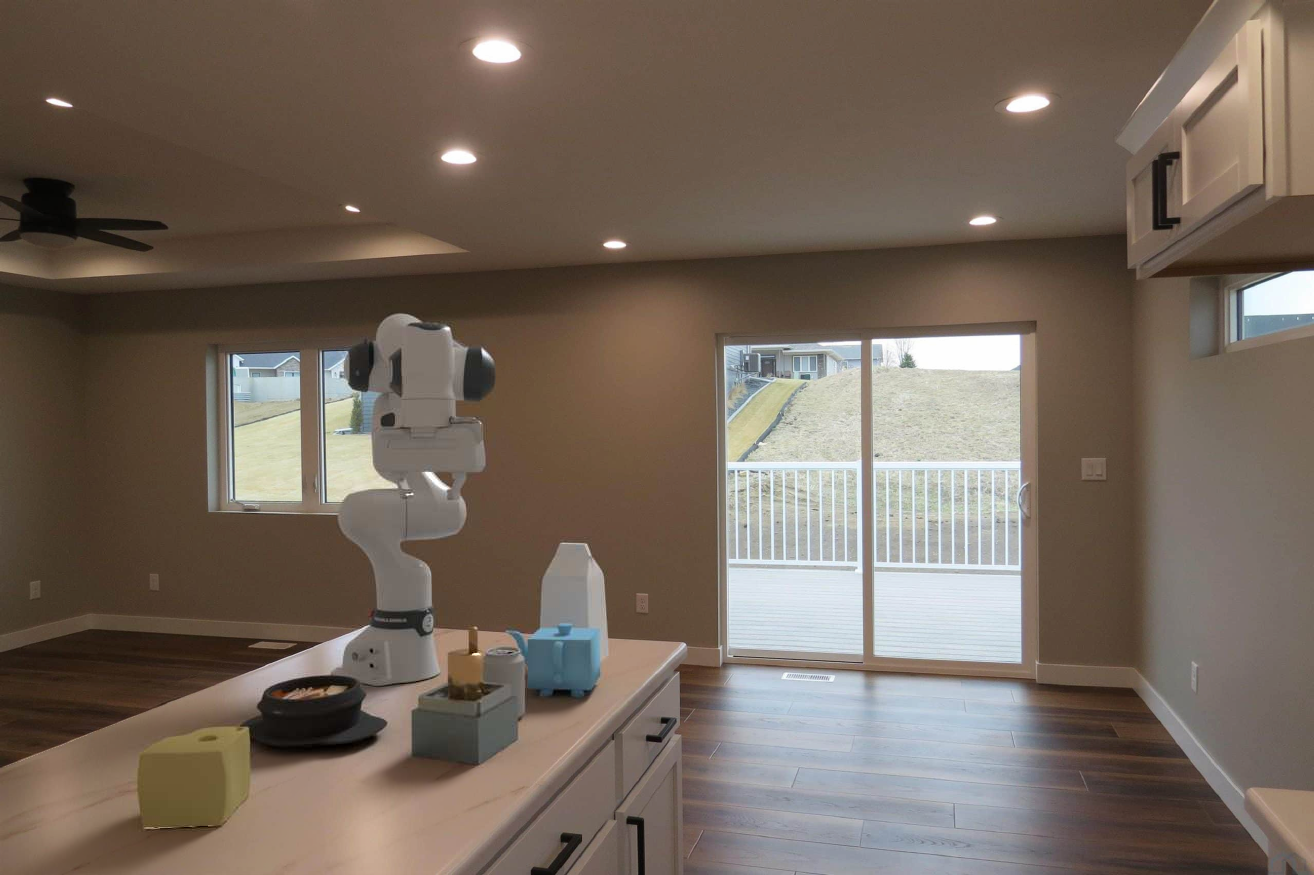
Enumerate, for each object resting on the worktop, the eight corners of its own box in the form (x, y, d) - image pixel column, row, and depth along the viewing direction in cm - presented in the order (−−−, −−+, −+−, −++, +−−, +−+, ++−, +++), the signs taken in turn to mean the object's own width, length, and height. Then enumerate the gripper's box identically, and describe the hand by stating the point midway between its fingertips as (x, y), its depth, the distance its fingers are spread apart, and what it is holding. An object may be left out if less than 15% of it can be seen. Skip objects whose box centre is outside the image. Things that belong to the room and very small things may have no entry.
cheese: (174, 799, 121) (173, 726, 121) (255, 796, 122) (254, 724, 122) (136, 833, 111) (135, 754, 111) (224, 829, 112) (224, 750, 112)
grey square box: (411, 755, 137) (411, 697, 137) (455, 731, 148) (454, 677, 148) (478, 764, 133) (478, 705, 133) (518, 739, 144) (517, 684, 144)
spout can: (447, 706, 137) (447, 632, 137) (448, 696, 143) (447, 625, 143) (484, 703, 138) (483, 630, 138) (483, 693, 144) (482, 623, 144)
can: (515, 725, 151) (515, 655, 151) (475, 723, 152) (474, 653, 152) (530, 712, 158) (530, 645, 158) (491, 709, 160) (491, 643, 160)
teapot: (602, 679, 179) (601, 616, 179) (589, 702, 163) (588, 633, 163) (515, 678, 181) (515, 615, 181) (494, 700, 165) (493, 632, 165)
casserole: (208, 748, 141) (208, 696, 141) (290, 713, 159) (290, 667, 159) (339, 765, 133) (339, 709, 133) (410, 726, 151) (409, 677, 151)
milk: (538, 666, 190) (537, 546, 190) (559, 653, 201) (558, 539, 201) (590, 670, 186) (589, 547, 186) (609, 657, 197) (607, 541, 197)
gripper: (492, 416, 148) (493, 498, 148) (391, 418, 155) (392, 497, 155) (471, 415, 142) (472, 501, 142) (367, 418, 149) (368, 499, 149)
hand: (429, 499), depth 148 cm, fingers open, 8 cm apart
